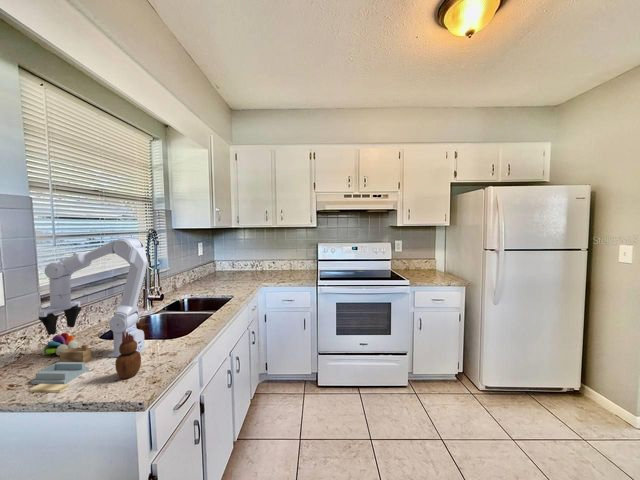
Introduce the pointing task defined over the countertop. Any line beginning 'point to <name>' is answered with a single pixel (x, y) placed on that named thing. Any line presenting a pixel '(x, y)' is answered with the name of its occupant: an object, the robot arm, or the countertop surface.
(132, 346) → the wooden figurine
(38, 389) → the plank
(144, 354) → the countertop surface
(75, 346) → the rainbow segmented toy
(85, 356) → the tan pegged block
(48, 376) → the jig
